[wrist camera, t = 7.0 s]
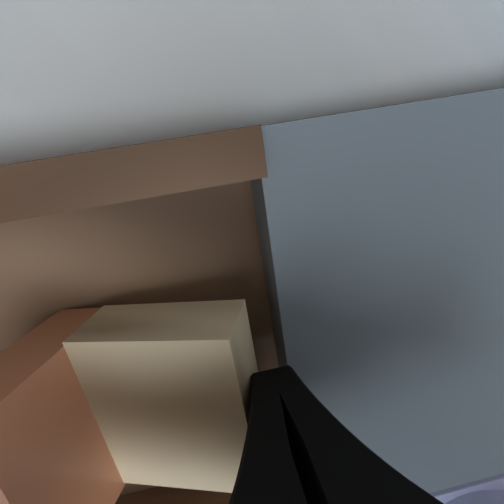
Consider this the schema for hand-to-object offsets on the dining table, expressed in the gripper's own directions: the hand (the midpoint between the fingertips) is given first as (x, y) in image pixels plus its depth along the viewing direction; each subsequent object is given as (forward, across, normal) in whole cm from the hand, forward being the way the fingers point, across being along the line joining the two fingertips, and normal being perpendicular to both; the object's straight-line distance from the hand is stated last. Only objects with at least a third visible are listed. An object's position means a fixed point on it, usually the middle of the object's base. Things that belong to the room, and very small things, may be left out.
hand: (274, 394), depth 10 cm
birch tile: (+2, +3, 0) cm, 3 cm away
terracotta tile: (0, +6, 0) cm, 6 cm away
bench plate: (+4, -8, 0) cm, 8 cm away
